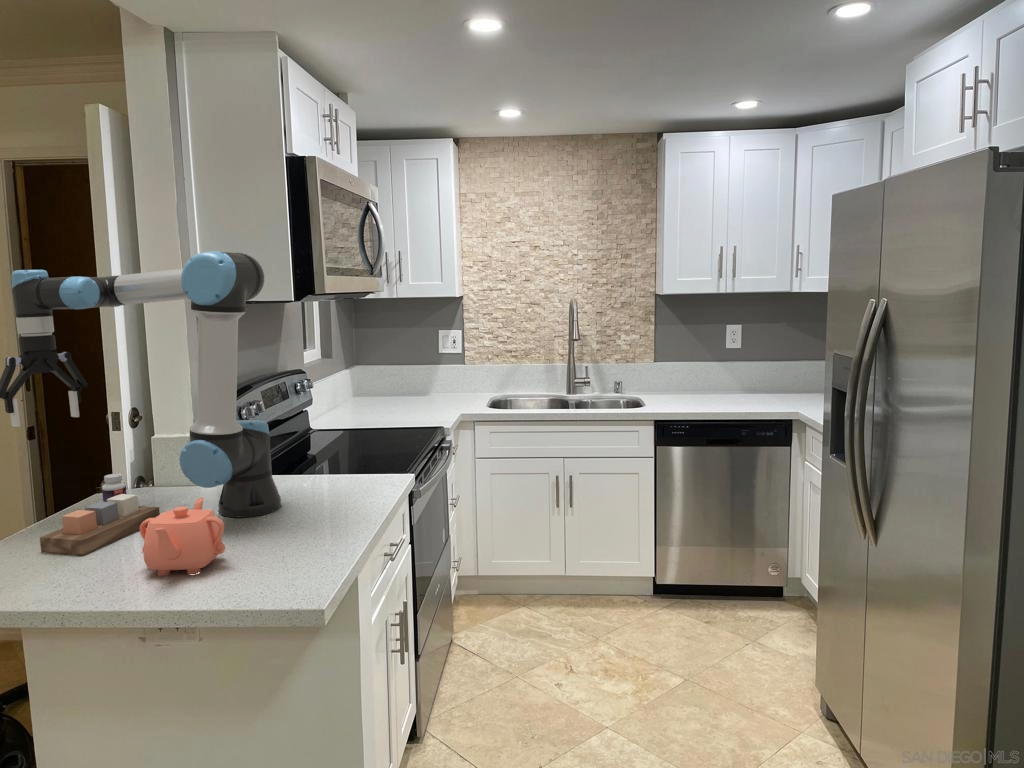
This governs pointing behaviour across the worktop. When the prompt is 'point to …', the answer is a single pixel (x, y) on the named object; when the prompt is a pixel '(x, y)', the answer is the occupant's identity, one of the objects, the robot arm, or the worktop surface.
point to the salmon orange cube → (79, 522)
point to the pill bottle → (113, 486)
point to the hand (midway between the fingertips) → (46, 421)
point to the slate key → (104, 512)
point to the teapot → (182, 539)
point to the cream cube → (125, 504)
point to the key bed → (96, 534)
